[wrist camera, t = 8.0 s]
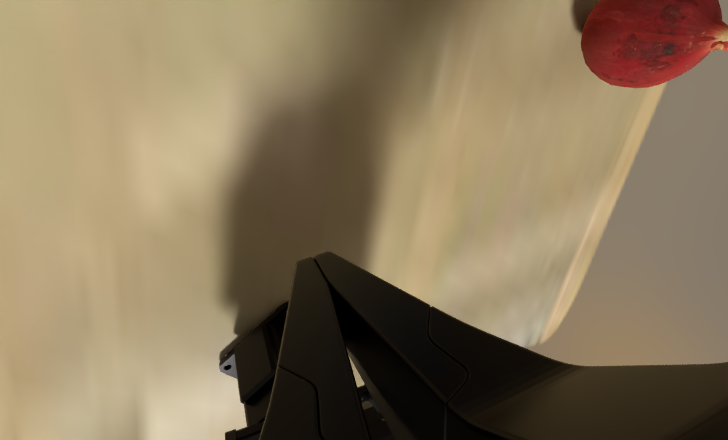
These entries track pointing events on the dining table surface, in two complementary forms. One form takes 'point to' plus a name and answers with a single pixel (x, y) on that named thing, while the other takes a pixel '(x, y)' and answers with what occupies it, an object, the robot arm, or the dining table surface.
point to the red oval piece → (650, 39)
